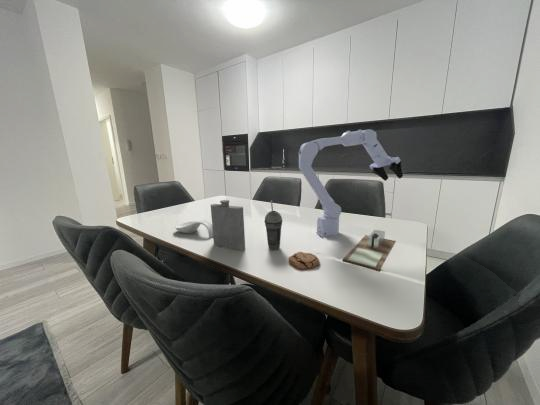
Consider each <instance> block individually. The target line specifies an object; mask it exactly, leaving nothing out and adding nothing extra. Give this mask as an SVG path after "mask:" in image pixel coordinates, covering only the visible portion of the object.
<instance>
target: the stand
mask: <svg viewBox="0 0 540 405" xmlns="http://www.w3.org/2000/svg"><path fill="white" fill-rule="evenodd" d="M368 236H369V235H364V236H363V237H362V238H361V239H360V240H359V241H358V242H357V244H355V245H354V247H353V248H352V249H351V250H349V252H348V253H347V254H346V255H345V256H344V257H343V259H342V262H343V263H347V264H350V265H353V266H357V267H362V268H365V269H368V270H373V271H376V272H379V273H380V272H381V271H382V267H383V265H384V263H385V262H386V260H387V258H388V256H389V254H390V252H391V251H392V249H393V247H394V245H395V244H396V242H397V241H396V240H394V239H389V238H384V241H383V243H382V244H381V246H380V247H379V249H373V248H374V238H377V234H376V233H374V234H373V244H372V248H369V247H367V238H368Z"/></svg>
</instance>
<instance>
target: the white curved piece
mask: <svg viewBox="0 0 540 405" xmlns="http://www.w3.org/2000/svg"><path fill="white" fill-rule="evenodd" d="M201 225H203V226H204V227H205V228H206V229H207V234H208V238H210V239H211V238H213V228H212V222H209V221H207V220H206V219H202V220H200V221H198V220H197V221H196V220H195V221H194V220H193V221H187V222H183V223H182V222H181V223H179V224H177V225H176V226H175V230H176V231H178V232H180V233H183V234H193V233H194V232H196V231H197V230H199V227H200V226H201Z"/></svg>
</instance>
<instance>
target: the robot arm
mask: <svg viewBox="0 0 540 405" xmlns="http://www.w3.org/2000/svg"><path fill="white" fill-rule="evenodd" d="M377 135H378V134H377V131H375V130H373V129H370V128H369V129H364V130H362V128H361V129H358V130H356V131H355V130H354V131H351V130H347V131H346V132H343V133H342V135H341V136H334V137H324V138H318V139H315V140H311V141H308V142H304V143H302V144H301V145H300V147H299V151H298V152H297V153H298V168H299V170H300V172H301V173H302V175H303V177H304V178H305V180H306V181H307V183H308V185H309V186H310V187H311V189H312V190H313V192H314V193H315V195H316V197H317V198H318V200H319V203H320V205H321V209H322V210H323V214H322V216H320V217H319V216H318V218H317V222H316V234H317V235H318V236H320V237H321V238H323V239H324V238H326V237H328V236H338V235H339V233H340V232H339V231H340V229H339V228H340V215H341V214H342V207H341V206H340V205H339V204H337V203H336V202H335V200H334V199H333V198H332V197H331V195H330V194H329V193H328V191H327V189H326V187H325V186H324V185H323V183H322V182H321V180H320V178H319V177H318V175H317V174H316V172H315V171H314V168H313V167H312V165H313V162H314V159H315V157H316V156H317V155H318V153H319V151H322V150H323V149H324V148H326V147H329V146H335V145H343V146H344V147H351V146H358V145H362V146H363V147H364V148H365V150H366V153H367V154H368V155H369V156H370V158H371V160H372V161H373V163H371V164H370V165H369V168H370V170H372V174H374V175H377V176H378V177H380V178H381V179H382V180H383V181H384V182H385V181H387V180H388V179H389V176H388V174H387V172H386V170H385V168H384V167H385V166H389V167H388V169H390V171H392V172H393V173H394V174H395V175H396V178H398V179H399V180H400V179H402V178H403V176H404V173H403V171H402V159H400V157H399V156H396V157H391V156H390V155H389V156H388V154H387V153H386V151H385V149H384V148H383V146H382V144H381V143H380V142H379V141H378V140H379V139H378V138H377Z"/></svg>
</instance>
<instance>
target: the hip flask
mask: <svg viewBox="0 0 540 405" xmlns="http://www.w3.org/2000/svg"><path fill="white" fill-rule="evenodd" d="M219 202H220V203H213V204H210V214H211V216H210V217H211V224H212V228H213V237H212V238H213V244H214V246H217V247H220V248H222V249H223V248H224V249H228V250H232V251H233V250H234V251H245V250H246V240H245V239H246V237H245V235H246V234H245V219H244V217H245V216H244V207H243V206H241V205H240V206H239V205H238V206H237V205H235V206H234V205H230V200H229V199H222V200H220V201H219Z"/></svg>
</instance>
